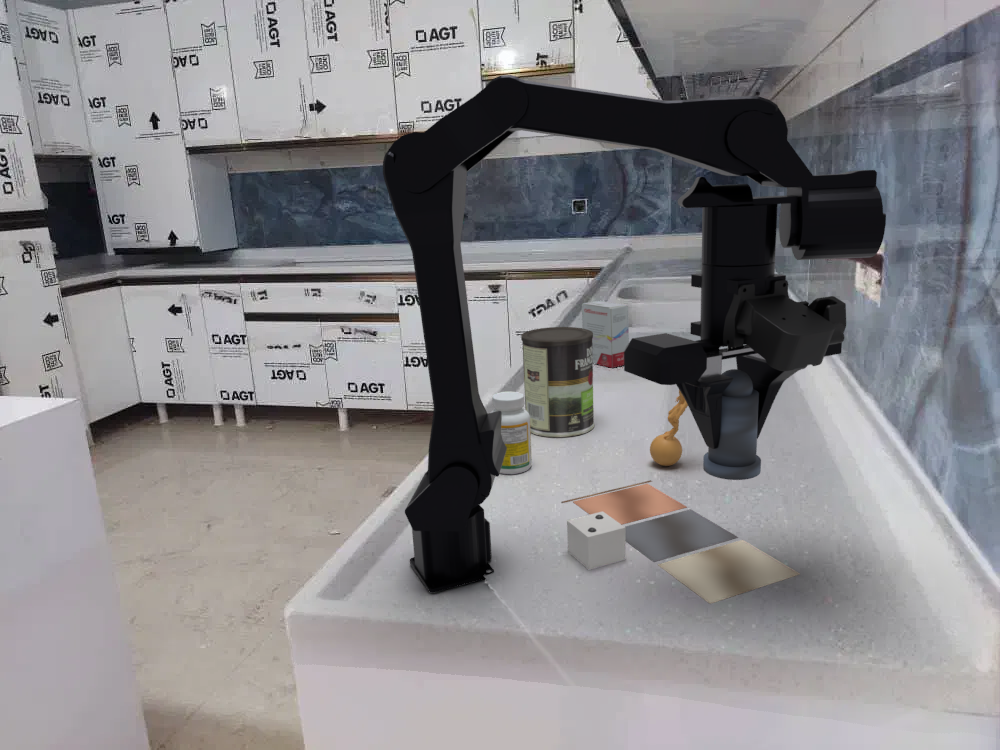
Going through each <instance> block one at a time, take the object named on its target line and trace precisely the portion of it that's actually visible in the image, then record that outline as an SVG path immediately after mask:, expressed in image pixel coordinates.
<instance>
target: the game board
mask: <svg viewBox="0 0 1000 750" xmlns="http://www.w3.org/2000/svg"><path fill="white" fill-rule="evenodd" d="M651 482H653V480H646V481H642V482H638V483H634V484H630V485H626V486H621V487H618V488H617V487H616V488H613V489H608V490H604V491H600V492H595V493H593V494H588V495H583V496H579V497H575V498H572V499H567V500H563V501H561V504H565V503H569V502H572V503H573V504H575V505H576V506H577V507H579V508H580V509H581V510H583V511H584V512H586V513H587V515H590V514H594V513H598V512H602V511H603V512H604V513H606V514H607V515H609V516H610V517H611V518H613V519H614V520H616V521H617V522H618V523H620V524H621V525H623V526H624V527H625V543H627V544H629V546H631V547H633V548H634V549H636V551H638V552H640V553H641V554H642V555H643V556H644V557H646V558H647V559H649V560H650V561H652V562H653V563H655V562H656V563H657V562H659V561H663V560H667V559H670V558H673V557H676V556H680V555H683V554H686V553H690V552H691V553H692V552H694V551H697V550H700V549H704V548H708V547H711V546H714V545H717V544H721V543H725V542H728V541H731V540H736V539H738V538H739V536H737V535H735V534H734V533H732V532H730V531H728V530H727V529H725V528H724V527H722V526H720V525H719V524H717V523H715V522H713V521H711V520H710V519H708V518H707V517H706V516H703V515H702V514H700V513H698V512H696V511H695V510H693V509H692V508H690V509H687V508H688V506H686V505H684V504H683V503H682V502H679V501H678V500H677V499H675V498H673V497H671V496H669V495H668V494H666V493H664V492H663V491H661V490H659V489H657V488H656V487H654V486H652V484H650V483H651ZM683 509H686V510H683ZM678 510H683V511H678ZM676 511H678V512H676ZM671 512H676V513H671ZM667 513H670V514H668V515H664V514H667ZM660 515H662V516H660ZM663 515H664V516H663ZM657 516H660V517H657ZM652 517H655V518H653V519H649V518H652ZM645 519H649V520H645ZM640 520H643V521H640ZM637 521H640V522H637ZM633 522H637V523H633ZM629 523H633V524H629ZM625 524H628V525H627V526H626V525H625ZM657 566H658V567H659V568H661V569H662V570H663V571H665V572H666V573H668V574H669V575H670V576H671V577H673V578H675V579H676V580H677V581H678V582H679V583H681V584H682V585H683V586H685V587H686V588H687V589H689V590H690V591H692V592H693V593H694V594H696V595H697V596H699V597H700V598H701V599H702V600H704V601H706V602H707V603H708V604H710V605H712V604H714V603H717V602H720V601H723V600H726V599H730V598H733V597H736V596H739V595H741V594H742V595H743V594H744V593H748V592H751V591H754V590H757V589H759V588H763V587H766V586H769V585H773V584H775V583H778V582H781V581H784V580H787V579H790V578H793V577H797V576H800V575H801V573H800V572H798V571H797V570H794V569H793V568H792V567H789V566H788V565H786V564H784V563H783V562H781V561H779V560H777V559H776V558H774V557H773V556H771V555H770V554H767V553H766V552H764V551H763V550H761V549H759V548H757V547H756V546H754V545H753V544H751V543H750V542H747V541H746V540H743V539H741V540H737V541H733V542H730V543H726V544H723V545H720V546H717V547H712V548H709V549H706V550H704V551H700V552H696V553H693V554H688V555H685V556H683V557H680V558H675V559H672V560H669V561H665V562H663V563H658V564H657Z"/></svg>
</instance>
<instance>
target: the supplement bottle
mask: <svg viewBox="0 0 1000 750" xmlns="http://www.w3.org/2000/svg"><path fill="white" fill-rule="evenodd" d="M491 399H492V400H491V404H492V405H491V406H492V407H493V410H491V411H490V413H492V412H496V411H501V412H502V421H501V435H502V439H503V442H504V444H505V445H506V447H507V450H506V453H505V457H504V460H503V463H502V467H501V470H500V473H499V474H502V475H517V474H521V473H524V472H527V471H528V470H529V469H531V467H532V463H533V461H532V460H533V459H532V437H531V435H532V433H531V431H530V415H529V413H528V412H527V411H526V410H525V408H524V407H525V394H523V393H522V392H518V391H501V392H497V393H494V394H492V396H491Z"/></svg>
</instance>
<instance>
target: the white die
mask: <svg viewBox="0 0 1000 750" xmlns="http://www.w3.org/2000/svg"><path fill="white" fill-rule="evenodd" d="M566 529H567V530H566V532H567V533H566V536H567V538H566V539H567V553H569V554H570V555H571V556H572V557H574V558H575V559H576V560H577V561H578V562H579V563H580V564H581V565H583V566H584V567H585V568H586V569H587V570H588V571H590V570H594V569H597V568H601V567H604V566H608V565H611V564H615V563H619V562H623V561H625V560H626V559H627V558H626V548H627V547H626V541H625V525H624V524H623V525H621V524H620V523H618V522H617V521H616V520H614V519H613V518H611V517H610V516H609V515H607V514H606V513H604V512H603V511H602V512H598V513H594V514H586V515H583V516H579V517H575V518H571V519H567V520H566Z"/></svg>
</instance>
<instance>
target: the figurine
mask: <svg viewBox="0 0 1000 750" xmlns="http://www.w3.org/2000/svg"><path fill="white" fill-rule="evenodd" d="M674 402H675V403H676V404H675V405H674V406H673V407H672V408H671V409H670V410H669V411H668V413H667V414H668V415H667V421H668V423H670V425H671V427H672V428H671V429H670V430H668V431H664V433H662V434H660V435H657V436H656V437H655V438H654V439H652V441H651V443H650V446H649V453H650V456H651V458H652V460H653V461H654V462H655V463H656V464H658V465H660V466H662V467H663V466H664V467H668V466H673V465H675V464H676V463H678V461H680V459H681V457H682V456H683V446H682V443H681V441H680V440H679V438H677V437H676V436H675V435H676V434H677V432H678V431H679V427H680V425H679V423H680V421H679V420H680V417H681V416H683V414H684V413H685V412H686V409H687V407H689V406H688V404H687V402H686V400H685V399H684V397H683V395H682V393H681V392H680V390H679V389H678V396H676V398H675V401H674Z"/></svg>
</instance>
